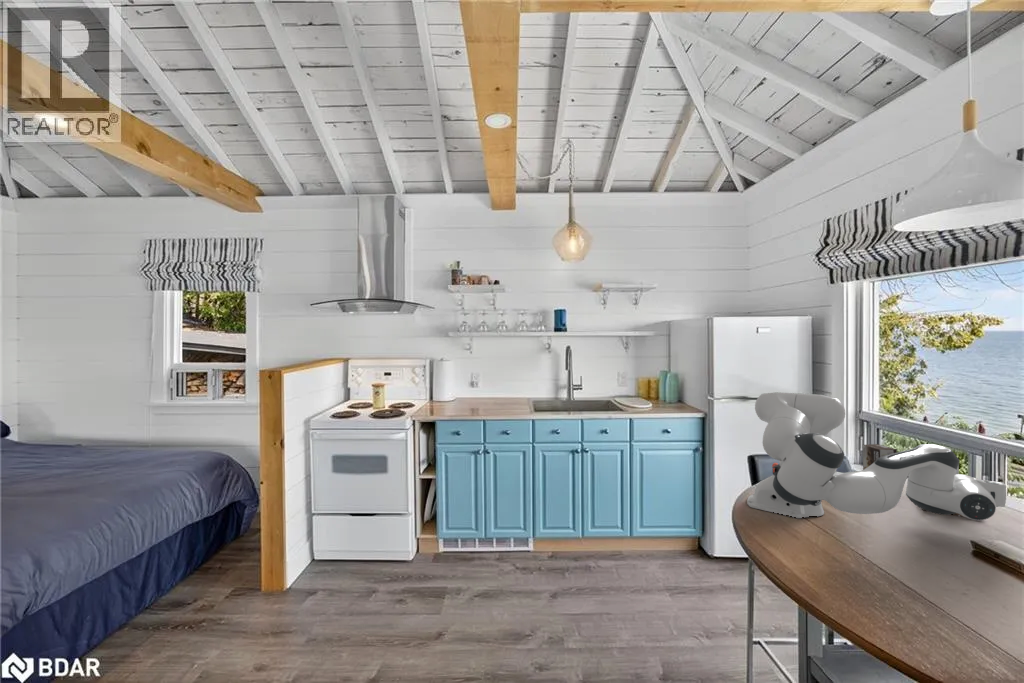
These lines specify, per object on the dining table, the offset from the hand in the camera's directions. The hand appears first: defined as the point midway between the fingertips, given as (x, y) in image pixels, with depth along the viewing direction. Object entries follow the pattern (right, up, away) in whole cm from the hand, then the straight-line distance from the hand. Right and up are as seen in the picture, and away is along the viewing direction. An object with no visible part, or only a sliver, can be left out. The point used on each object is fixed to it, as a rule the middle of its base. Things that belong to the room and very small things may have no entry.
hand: (953, 478), depth 148 cm
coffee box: (-1, -13, +28) cm, 31 cm away
